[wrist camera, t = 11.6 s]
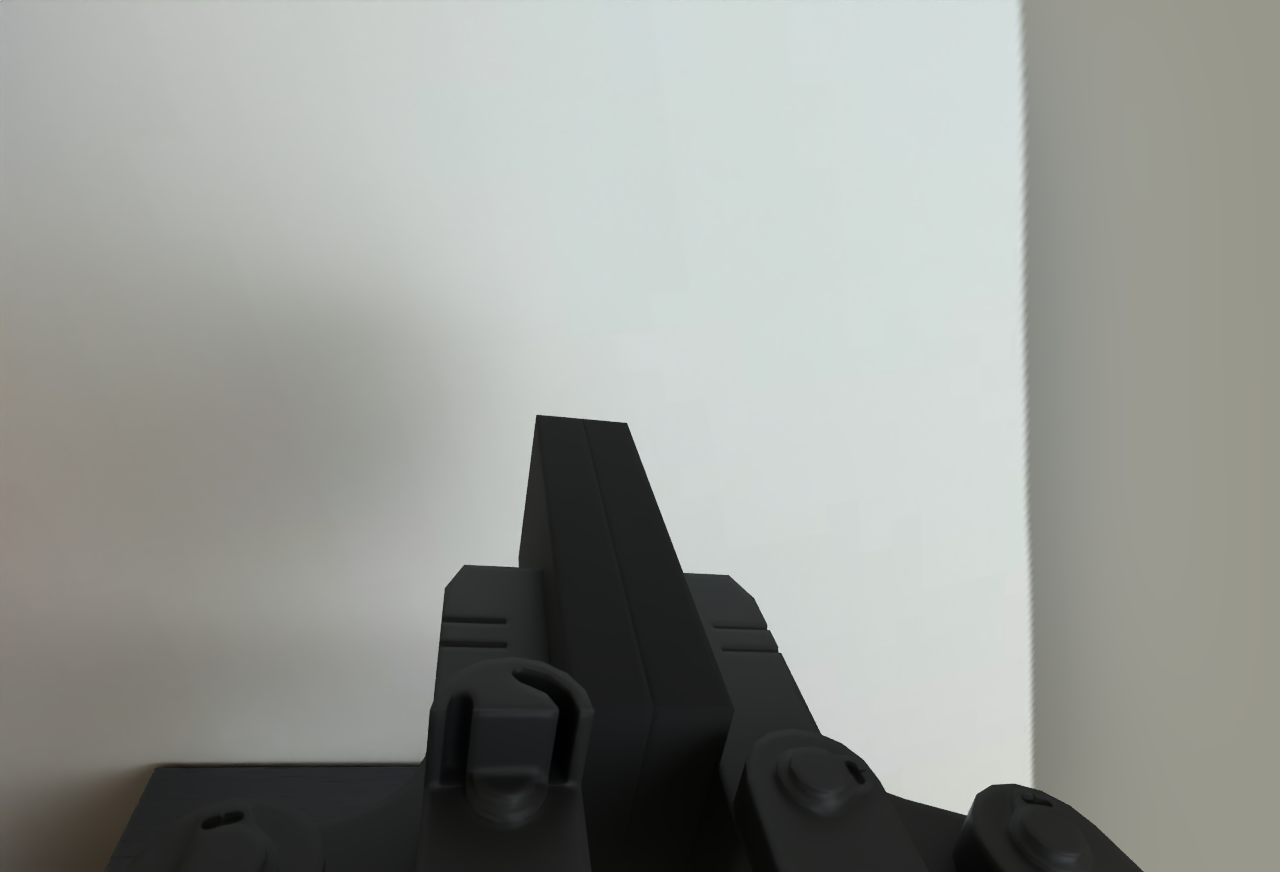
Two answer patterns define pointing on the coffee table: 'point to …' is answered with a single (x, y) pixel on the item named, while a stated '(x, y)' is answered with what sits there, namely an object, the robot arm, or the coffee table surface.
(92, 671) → the coffee table surface
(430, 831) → the robot arm
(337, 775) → the oven door
